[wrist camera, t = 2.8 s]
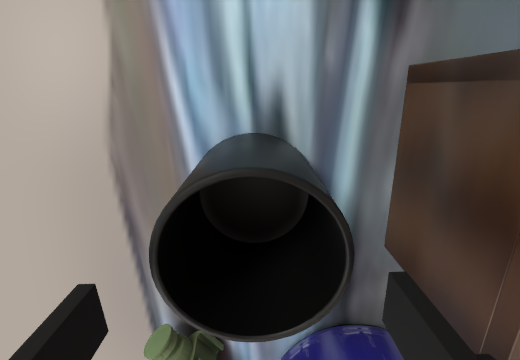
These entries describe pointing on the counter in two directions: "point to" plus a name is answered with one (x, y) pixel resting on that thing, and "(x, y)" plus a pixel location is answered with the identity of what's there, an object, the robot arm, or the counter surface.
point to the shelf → (462, 196)
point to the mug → (251, 243)
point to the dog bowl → (346, 345)
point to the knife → (181, 345)
